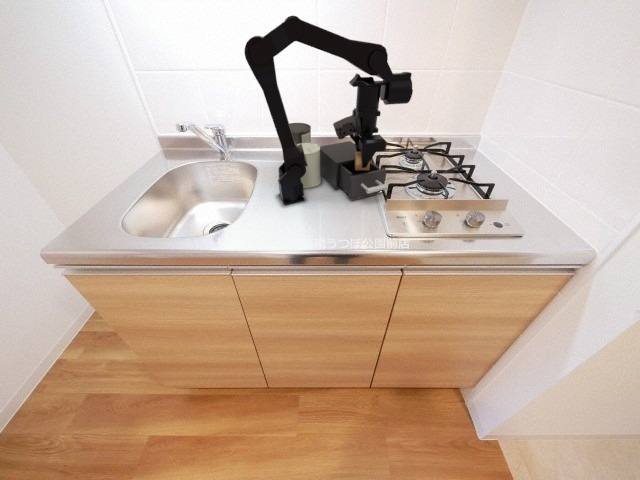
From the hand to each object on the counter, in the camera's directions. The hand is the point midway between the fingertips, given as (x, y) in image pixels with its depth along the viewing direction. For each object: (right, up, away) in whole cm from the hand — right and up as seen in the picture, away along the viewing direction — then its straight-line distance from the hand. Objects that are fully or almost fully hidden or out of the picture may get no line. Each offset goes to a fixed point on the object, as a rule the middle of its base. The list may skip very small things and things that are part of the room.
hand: (361, 164), depth 74 cm
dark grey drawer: (0, -6, +5) cm, 8 cm away
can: (-17, -2, +12) cm, 21 cm away
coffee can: (-20, +6, +22) cm, 30 cm away
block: (0, -1, +1) cm, 1 cm away
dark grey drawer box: (-4, 0, +14) cm, 15 cm away
